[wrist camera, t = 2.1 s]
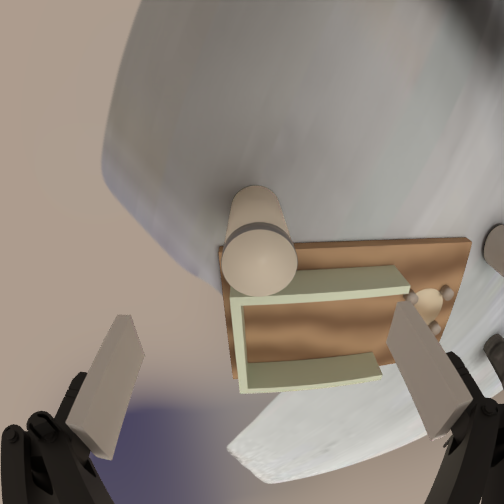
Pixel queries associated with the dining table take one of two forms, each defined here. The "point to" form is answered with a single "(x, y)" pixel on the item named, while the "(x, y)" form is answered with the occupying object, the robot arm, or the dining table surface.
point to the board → (353, 301)
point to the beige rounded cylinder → (258, 244)
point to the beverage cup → (496, 355)
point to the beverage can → (495, 249)
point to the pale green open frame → (314, 290)
